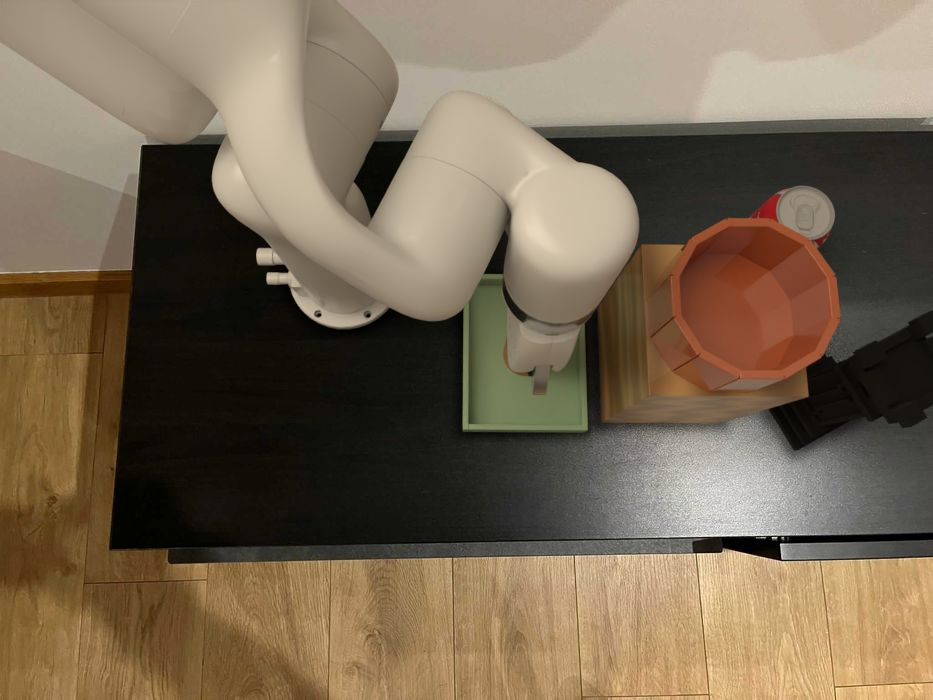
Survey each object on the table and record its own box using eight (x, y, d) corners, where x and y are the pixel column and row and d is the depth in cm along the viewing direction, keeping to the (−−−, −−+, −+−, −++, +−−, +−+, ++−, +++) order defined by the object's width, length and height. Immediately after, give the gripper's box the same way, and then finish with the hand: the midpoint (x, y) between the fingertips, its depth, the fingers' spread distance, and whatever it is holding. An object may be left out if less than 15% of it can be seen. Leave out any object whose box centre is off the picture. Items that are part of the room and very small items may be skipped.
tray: (462, 431, 75) (462, 429, 73) (463, 280, 79) (463, 273, 77) (583, 432, 75) (588, 430, 73) (579, 281, 79) (583, 274, 77)
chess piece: (794, 450, 75) (910, 433, 56) (754, 385, 77) (853, 347, 57) (855, 416, 76) (991, 388, 56) (814, 353, 77) (933, 304, 58)
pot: (652, 392, 56) (676, 378, 50) (645, 247, 59) (666, 217, 53) (805, 393, 56) (848, 379, 50) (790, 248, 59) (830, 218, 53)
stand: (601, 422, 76) (648, 395, 56) (597, 307, 78) (641, 244, 59) (719, 423, 76) (809, 396, 56) (711, 308, 78) (794, 245, 59)
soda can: (786, 228, 81) (841, 182, 69) (786, 286, 79) (842, 249, 67) (725, 223, 81) (770, 175, 69) (724, 280, 79) (769, 242, 67)
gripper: (501, 176, 53) (493, 258, 71) (502, 391, 49) (493, 421, 67) (600, 176, 53) (566, 259, 71) (608, 392, 49) (570, 421, 67)
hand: (531, 337), depth 69 cm, fingers closed on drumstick, 3 cm apart
